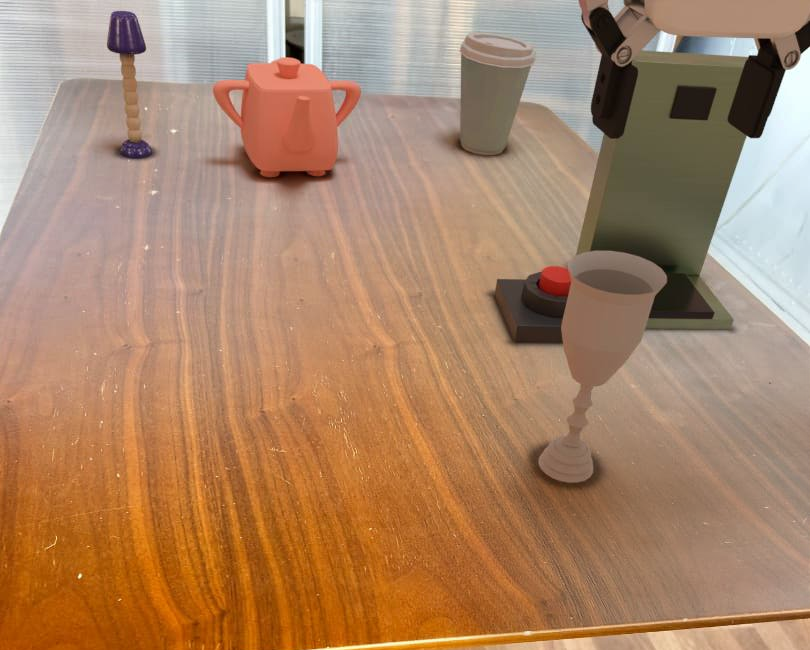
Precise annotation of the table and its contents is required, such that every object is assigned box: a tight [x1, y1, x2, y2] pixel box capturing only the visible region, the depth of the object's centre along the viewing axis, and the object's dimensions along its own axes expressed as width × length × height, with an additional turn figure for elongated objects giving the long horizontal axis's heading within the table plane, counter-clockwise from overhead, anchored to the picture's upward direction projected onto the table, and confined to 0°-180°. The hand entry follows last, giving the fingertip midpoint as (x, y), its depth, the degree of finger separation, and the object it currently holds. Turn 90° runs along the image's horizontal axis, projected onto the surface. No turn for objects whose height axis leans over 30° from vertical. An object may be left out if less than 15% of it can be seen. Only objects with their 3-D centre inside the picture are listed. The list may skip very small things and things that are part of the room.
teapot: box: [212, 56, 362, 178], centre depth 115 cm, size 17×16×13 cm
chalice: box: [538, 251, 667, 484], centre depth 69 cm, size 7×7×18 cm
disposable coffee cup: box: [458, 31, 536, 156], centre depth 125 cm, size 11×11×15 cm
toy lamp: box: [106, 10, 154, 160], centre depth 112 cm, size 5×5×17 cm
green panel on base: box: [575, 49, 749, 330], centre depth 92 cm, size 14×14×24 cm
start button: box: [539, 265, 571, 296], centre depth 91 cm, size 4×4×2 cm
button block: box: [494, 271, 568, 344], centre depth 93 cm, size 10×10×4 cm
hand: (675, 130), depth 55 cm, fingers open, 9 cm apart
